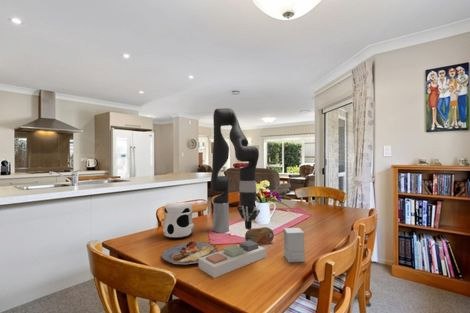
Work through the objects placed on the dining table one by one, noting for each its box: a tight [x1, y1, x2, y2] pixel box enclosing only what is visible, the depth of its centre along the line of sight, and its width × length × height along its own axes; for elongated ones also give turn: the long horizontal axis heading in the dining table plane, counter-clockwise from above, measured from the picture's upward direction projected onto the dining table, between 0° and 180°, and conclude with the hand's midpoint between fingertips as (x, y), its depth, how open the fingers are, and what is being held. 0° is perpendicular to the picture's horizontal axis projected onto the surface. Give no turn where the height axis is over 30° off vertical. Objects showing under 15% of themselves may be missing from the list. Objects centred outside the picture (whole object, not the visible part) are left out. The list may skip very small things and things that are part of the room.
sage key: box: [223, 244, 243, 258], centre depth 107 cm, size 6×6×3 cm
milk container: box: [162, 201, 195, 239], centre depth 144 cm, size 17×17×18 cm
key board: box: [198, 244, 267, 279], centre depth 107 cm, size 11×28×4 cm, turn 130°
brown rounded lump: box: [244, 226, 275, 246], centre depth 128 cm, size 15×3×8 cm, turn 105°
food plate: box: [161, 241, 218, 266], centre depth 115 cm, size 25×23×4 cm
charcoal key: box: [238, 240, 259, 252], centre depth 112 cm, size 6×6×3 cm
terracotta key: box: [206, 253, 227, 264], centre depth 101 cm, size 6×6×3 cm
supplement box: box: [283, 227, 306, 263], centre depth 109 cm, size 7×7×13 cm
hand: (248, 228), depth 112 cm, fingers closed
